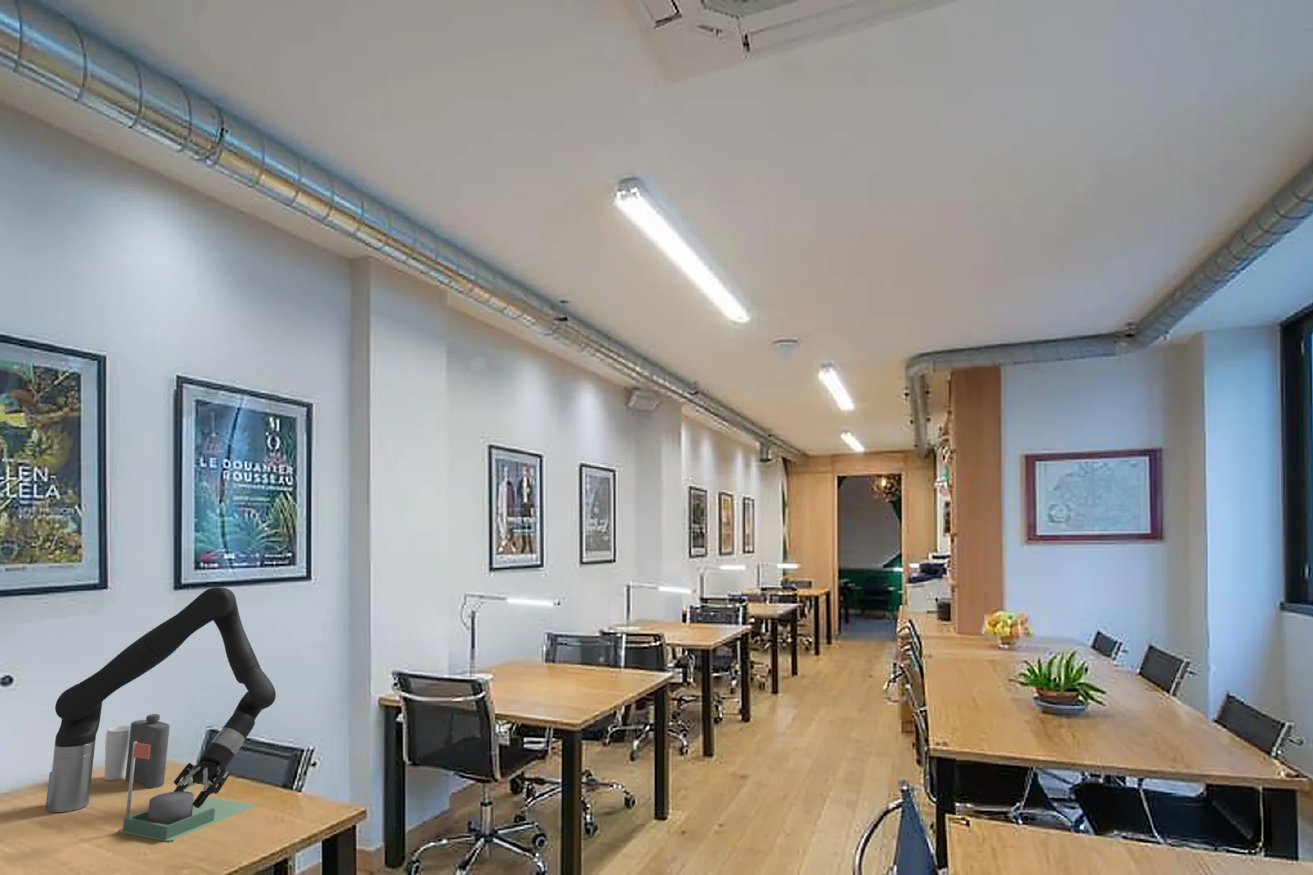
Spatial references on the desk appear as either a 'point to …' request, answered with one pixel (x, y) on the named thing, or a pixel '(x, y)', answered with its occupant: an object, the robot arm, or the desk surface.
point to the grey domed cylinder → (170, 807)
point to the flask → (157, 737)
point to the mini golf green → (200, 818)
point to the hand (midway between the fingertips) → (183, 804)
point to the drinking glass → (116, 752)
